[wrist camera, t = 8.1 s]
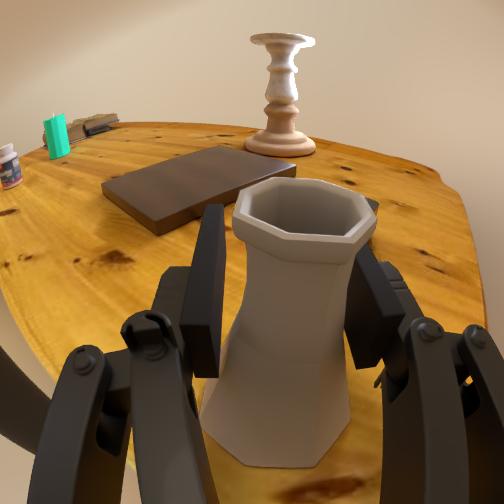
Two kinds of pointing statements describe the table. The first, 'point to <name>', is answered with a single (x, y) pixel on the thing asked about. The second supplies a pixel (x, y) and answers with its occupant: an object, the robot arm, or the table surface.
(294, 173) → the walnut board
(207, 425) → the flask
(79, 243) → the table surface
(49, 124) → the candle
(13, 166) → the pill bottle
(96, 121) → the book
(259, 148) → the candle holder
